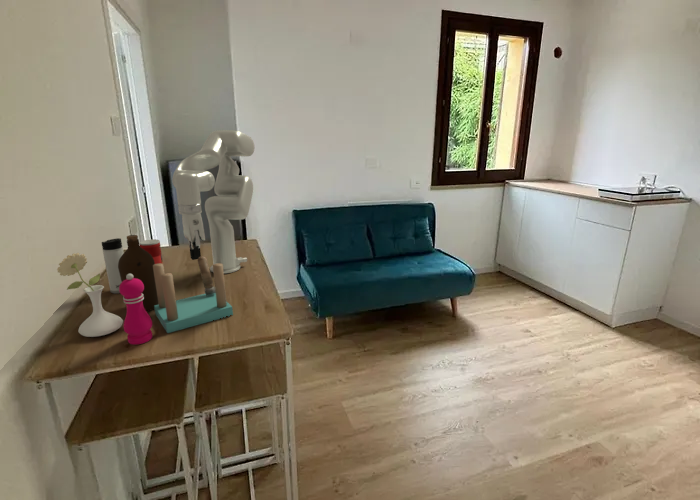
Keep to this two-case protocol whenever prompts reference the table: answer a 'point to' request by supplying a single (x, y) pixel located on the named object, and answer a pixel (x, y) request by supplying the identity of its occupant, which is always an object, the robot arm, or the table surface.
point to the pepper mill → (135, 311)
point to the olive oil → (139, 270)
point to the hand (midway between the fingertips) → (195, 258)
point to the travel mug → (113, 262)
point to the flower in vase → (99, 319)
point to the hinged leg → (206, 275)
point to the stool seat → (189, 302)
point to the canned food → (153, 249)
